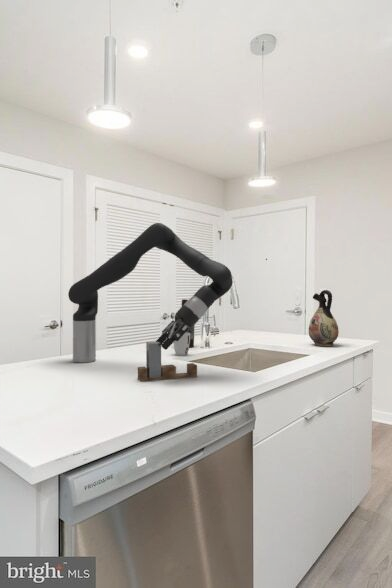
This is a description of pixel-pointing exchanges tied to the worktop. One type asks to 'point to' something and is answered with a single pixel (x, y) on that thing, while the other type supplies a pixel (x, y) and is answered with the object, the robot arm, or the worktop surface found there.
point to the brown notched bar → (168, 372)
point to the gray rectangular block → (153, 359)
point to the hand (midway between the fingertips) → (160, 346)
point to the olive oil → (190, 330)
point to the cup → (182, 345)
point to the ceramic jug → (323, 322)
